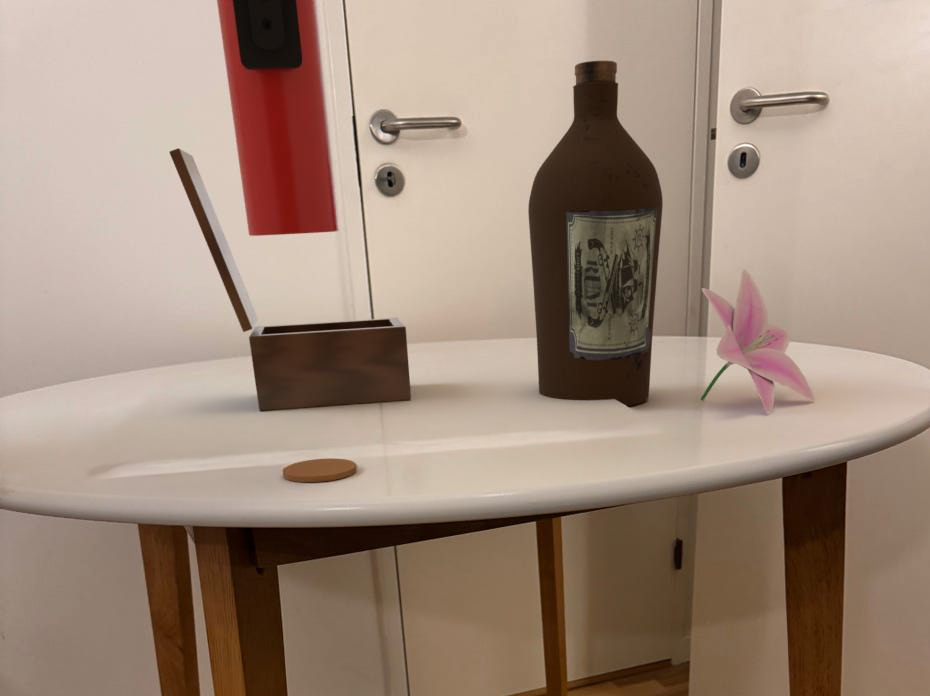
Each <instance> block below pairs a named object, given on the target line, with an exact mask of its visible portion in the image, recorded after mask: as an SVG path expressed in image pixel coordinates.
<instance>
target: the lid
mask: <svg viewBox="0 0 930 696" xmlns="http://www.w3.org/2000/svg"><path fill="white" fill-rule="evenodd" d="M169 155H170V158H171V160H172V162H173V164H174V167H175V169H176V173H177V174H178V177H179V179H180V182H181V184H182V187H183V189H184V192H185V194H186V196H187V199H188V201H189V204H190V206H191V208H192V211H193V214H194V216H195V218H196V221H197V223H198V225H199V228H200V231H201V233H202V235H203V238H204V240H205V243H206V245H207V248H208V250H209V253H210V254H211V257H212V260H213V263H214V265H215V267H216V269H217V272H218V274H219V277H220V279H221V281H222V284H223V286H224V289H225V291H226V294H227V296H228V298H229V301H230V303H231V306H232V308H233V311H234V313H235V316H236V318H237V320H238V322H239V325H240V328H241V331H242V332H243V333H245V332H248V331H251V330H253V329H254V328H255V325H256V324H257V322H258V320H259V317H258V315H257V313H256V310H255V308H254V305H253V302H252V301H251V298H250V296H249V293H248V290H247V288H246V286H245V282H244V281H243V278H242V276H241V273H240V270H239V268H238V266H237V263H236V261H235V258H234V255H233V253H232V251H231V248H230V246H229V243H228V241H227V239H226V235H225V233H224V231H223V228H222V226H221V223H220V220H219V218H218V216H217V213H216V211H215V208H214V206H213V204H212V201H211V199H210V196H209V193H208V191H207V189H206V187H205V184H204V180H203V179H202V176H201V173H200V171H199V169H198V165H197V164H196V162H195V159H194V156H193V155H191V154H190V153H188V152H187V151H184V150H183V149H181V148H176V149H172V150H170V151H169Z"/></svg>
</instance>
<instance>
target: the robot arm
mask: <svg viewBox="0 0 930 696" xmlns="http://www.w3.org/2000/svg"><path fill="white" fill-rule="evenodd" d="M233 6H234V14H235V21H236V29H237V37H238V44H239V52H240V59H241V63H242V65H243V66H244V67H245V68H246V69H249V70H256V69H289V68H299V67H300V66H301V65H302V50H301V41H300V32H299V23H298V13H297V4H296V0H233Z"/></svg>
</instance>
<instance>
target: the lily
mask: <svg viewBox="0 0 930 696" xmlns="http://www.w3.org/2000/svg"><path fill="white" fill-rule="evenodd" d="M701 291H702V293H703V295H704V296H705V297H706V299H707V301H708V302H709V303H710V305H711V306H712V308H713V310H714V311H715V313H716V314H717V316H718V317H719V319H720V321H721V323H722V324H723V325H724V327H725V330H724V333H723V334H722V336H721V338H720V340H719V342H718V344H717V348H716V355H717V356H718V358H720V359H722V360H724V361H725V362H726V363H725V364H724V365H723V367H721V369H719V371H718V372H717V373H716V375H715V376H713V378H712V380H711V382H710V383H709V385H708V386H707V388H706V389H705V390H704V392H703V394H702V396H701V397H700V400H701V401H705V399H706V397H707V396H708V395H709V392H710V391H711V390H712V388H713V387H714V385H715V384H716V382H717V381H718V379H719V378H720V376H722V374H723V373H724V372H725V371H726V370H727V369H728V368H729V367H730V366H731V365H733V364H735V365H738V366H740V367H743V368H744V369H746V370H747V371H748V374H749V375H750V378H751V379H752V381H753V383H754V386H755V388H756V391H757V393H758V395H759V397H760V400H761V403H762V405H763V408H764V410H765V412H766V414H767V416H769V415H771V413H772V410H773V407H774V403H775V396H776V387H775V383H776V384H779V385H781V386H784V387H786V388H788V389H790V390H791V391H794V392H795V393H797V394H798V395H800V396H801V397H803V398H805V399H806V400H808V401H809V402H812V403H815V402H816V400H815V396H814V393H813V391H812V388H811V387H810V385H809V383H808V380H807V379H806V378H805V376H804V373H803V372H802V371H801V369H800V367H799V366H798V365H797V364H796V363H795V361H794V359H792V358H791V357H790V356H789V355H787V353H786V351H787V349H788V347H789V344H790V340H791V339H790V335H789V333H788V332H787V331H786V330H785V329H783V328H781V327H779V326H777V325H774V324H772V323H769V318H768V311H767V308H766V304H765V300H764V299H763V297H762V295H761V292H760V290H759V288H758V286H757V284H756V282H755V281H754V279H753V278H752V276H751V274H750V273H749V272H748V271H747V270H746V269H742V272H741V276H740V284H739V288H738V293H737V297H736V301H735V306H733V304H732V303H731V302H729V301H728V300H727V299H725V298H724V297H722V296H721V295H719V294H718V293H717V292H714V291H712V290H711V289H708V288H705V287H702V288H701Z"/></svg>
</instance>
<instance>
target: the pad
mask: <svg viewBox="0 0 930 696" xmlns="http://www.w3.org/2000/svg"><path fill="white" fill-rule="evenodd" d="M357 471H358V468H357V463H356V462H355V461H353V460H351V459H345V458H336V457H335V458H334V457H333V458H330V457H328V458H315V459H308V460H307V459H306V460H302V461H297V462H294V463H291V464H289V465H287V466H285V467H283V469H282V475H283V478H284V479H286V480H287V481H290V482H297V483H321V482H323V483H324V482H330V481H336V480H340V479H344V478H347V477H350V476H353V475H354V474H356V472H357Z"/></svg>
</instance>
